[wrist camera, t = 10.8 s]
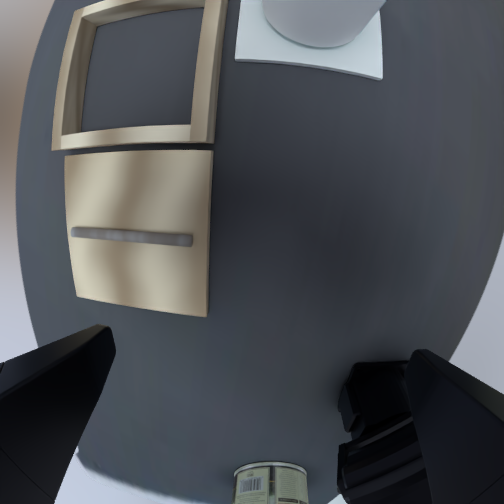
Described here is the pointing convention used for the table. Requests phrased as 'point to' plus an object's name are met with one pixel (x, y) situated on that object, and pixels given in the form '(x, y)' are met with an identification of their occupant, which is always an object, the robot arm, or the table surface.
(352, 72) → the mat
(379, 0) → the can
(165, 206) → the beige slotted open frame
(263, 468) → the coffee can
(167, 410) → the table surface
